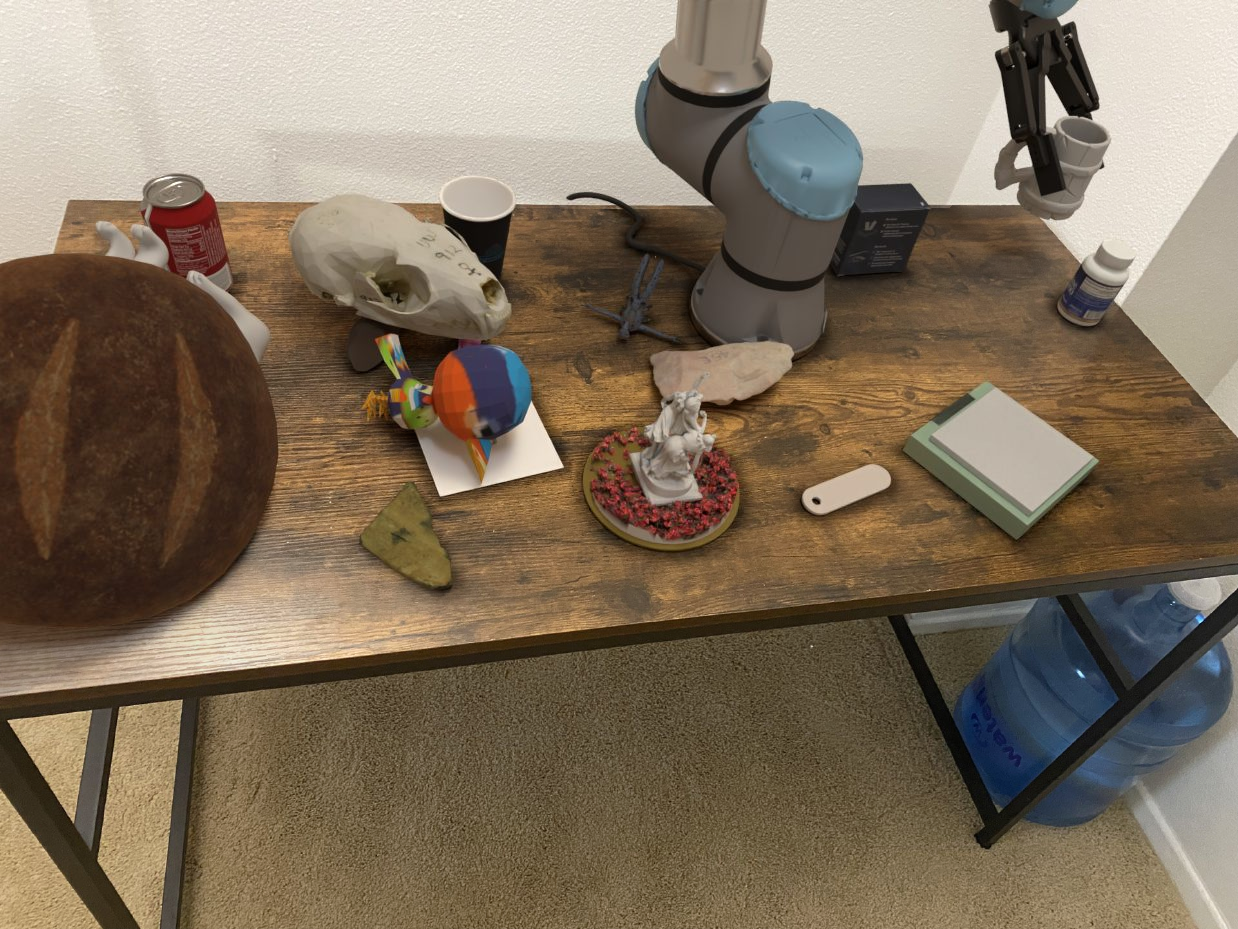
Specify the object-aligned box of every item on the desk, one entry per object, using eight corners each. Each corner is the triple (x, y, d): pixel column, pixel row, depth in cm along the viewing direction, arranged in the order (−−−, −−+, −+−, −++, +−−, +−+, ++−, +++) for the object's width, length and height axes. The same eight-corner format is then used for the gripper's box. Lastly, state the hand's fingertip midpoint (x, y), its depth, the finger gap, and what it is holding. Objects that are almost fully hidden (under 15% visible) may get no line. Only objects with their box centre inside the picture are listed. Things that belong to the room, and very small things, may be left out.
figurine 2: (707, 278, 102) (707, 272, 97) (675, 360, 103) (673, 358, 98) (607, 239, 103) (601, 232, 98) (576, 321, 104) (568, 317, 99)
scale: (901, 449, 95) (912, 428, 93) (976, 395, 102) (988, 374, 100) (1016, 540, 89) (1031, 520, 87) (1087, 475, 96) (1103, 455, 94)
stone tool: (658, 421, 93) (803, 411, 95) (659, 382, 90) (809, 372, 92) (646, 372, 100) (782, 363, 102) (647, 334, 97) (786, 326, 99)
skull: (454, 397, 85) (454, 308, 78) (260, 292, 92) (244, 201, 85) (542, 326, 94) (549, 241, 87) (360, 236, 101) (353, 150, 94)
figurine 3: (707, 420, 94) (738, 311, 84) (762, 536, 85) (806, 432, 75) (565, 438, 90) (579, 327, 79) (607, 563, 81) (629, 456, 70)
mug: (1083, 226, 111) (1136, 136, 102) (986, 214, 111) (1031, 122, 101) (1068, 189, 116) (1117, 99, 106) (975, 177, 115) (1017, 86, 106)
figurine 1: (432, 277, 96) (394, 361, 89) (429, 306, 100) (393, 389, 93) (371, 259, 96) (329, 342, 89) (371, 289, 100) (330, 371, 93)
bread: (276, 292, 80) (329, 286, 74) (255, 604, 81) (306, 623, 75) (-146, 214, 59) (-118, 197, 53) (-171, 638, 60) (-147, 668, 54)
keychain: (794, 496, 89) (812, 521, 88) (796, 493, 88) (814, 517, 87) (876, 464, 93) (894, 486, 92) (878, 460, 93) (897, 483, 91)
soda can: (247, 291, 98) (225, 193, 89) (188, 318, 94) (159, 218, 85) (211, 260, 100) (187, 161, 91) (152, 284, 97) (120, 184, 88)
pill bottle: (1063, 293, 117) (1103, 228, 110) (1104, 313, 115) (1147, 248, 108) (1050, 313, 114) (1090, 248, 106) (1092, 333, 112) (1135, 269, 105)
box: (885, 245, 119) (912, 181, 112) (904, 273, 115) (933, 208, 108) (819, 249, 116) (842, 183, 109) (837, 277, 113) (862, 211, 106)
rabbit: (124, 191, 68) (-92, 487, 60) (308, 350, 85) (157, 599, 77) (45, 187, 74) (-161, 455, 66) (231, 336, 91) (84, 565, 83)
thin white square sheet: (440, 496, 83) (439, 486, 82) (405, 405, 90) (404, 394, 89) (564, 467, 88) (565, 457, 86) (522, 382, 94) (523, 371, 93)
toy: (351, 489, 82) (511, 488, 78) (345, 330, 81) (506, 322, 77) (404, 481, 91) (548, 480, 88) (399, 339, 91) (545, 332, 87)
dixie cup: (496, 312, 101) (498, 227, 92) (428, 291, 101) (425, 205, 93) (522, 271, 106) (527, 187, 97) (458, 251, 107) (457, 167, 98)
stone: (459, 590, 78) (460, 580, 76) (382, 613, 75) (381, 602, 74) (418, 486, 84) (418, 474, 83) (346, 503, 82) (344, 492, 81)
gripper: (1038, -16, 112) (1085, 166, 117) (939, 16, 101) (996, 215, 106) (1100, -46, 106) (1147, 148, 111) (1001, -15, 95) (1058, 199, 100)
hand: (1073, 181), depth 109 cm, fingers closed on mug, 8 cm apart
